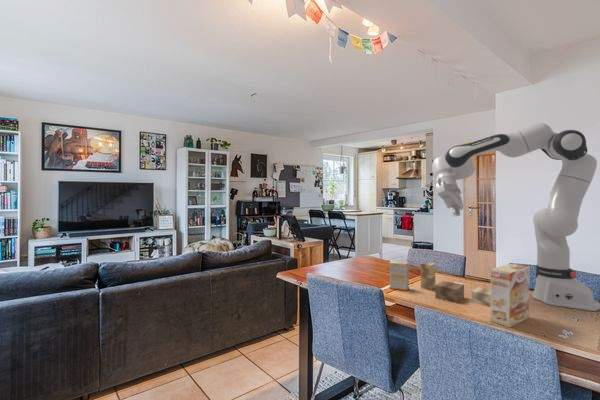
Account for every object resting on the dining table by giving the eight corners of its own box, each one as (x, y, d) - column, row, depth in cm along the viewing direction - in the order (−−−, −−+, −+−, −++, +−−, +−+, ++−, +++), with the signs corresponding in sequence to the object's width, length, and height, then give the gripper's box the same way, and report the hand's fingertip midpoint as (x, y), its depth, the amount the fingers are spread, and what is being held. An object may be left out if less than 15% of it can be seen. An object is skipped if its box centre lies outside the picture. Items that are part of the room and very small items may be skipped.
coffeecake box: (510, 328, 114) (510, 272, 113) (489, 321, 120) (489, 268, 119) (530, 318, 122) (530, 266, 121) (509, 312, 128) (509, 262, 127)
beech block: (498, 302, 139) (498, 291, 139) (492, 307, 134) (492, 295, 134) (478, 298, 145) (478, 287, 145) (471, 302, 140) (471, 291, 139)
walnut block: (464, 298, 145) (464, 284, 145) (456, 303, 139) (456, 289, 139) (443, 293, 152) (443, 280, 152) (435, 298, 145) (435, 285, 145)
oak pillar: (435, 287, 160) (435, 263, 159) (431, 290, 156) (431, 265, 156) (425, 285, 163) (425, 262, 163) (420, 288, 160) (420, 263, 159)
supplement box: (409, 288, 160) (409, 261, 159) (406, 291, 156) (406, 263, 155) (392, 286, 164) (392, 260, 164) (389, 288, 160) (389, 262, 159)
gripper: (443, 173, 147) (451, 199, 140) (462, 192, 160) (469, 217, 152) (430, 179, 151) (436, 204, 144) (449, 197, 163) (456, 221, 156)
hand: (453, 211), depth 148 cm, fingers open, 8 cm apart
